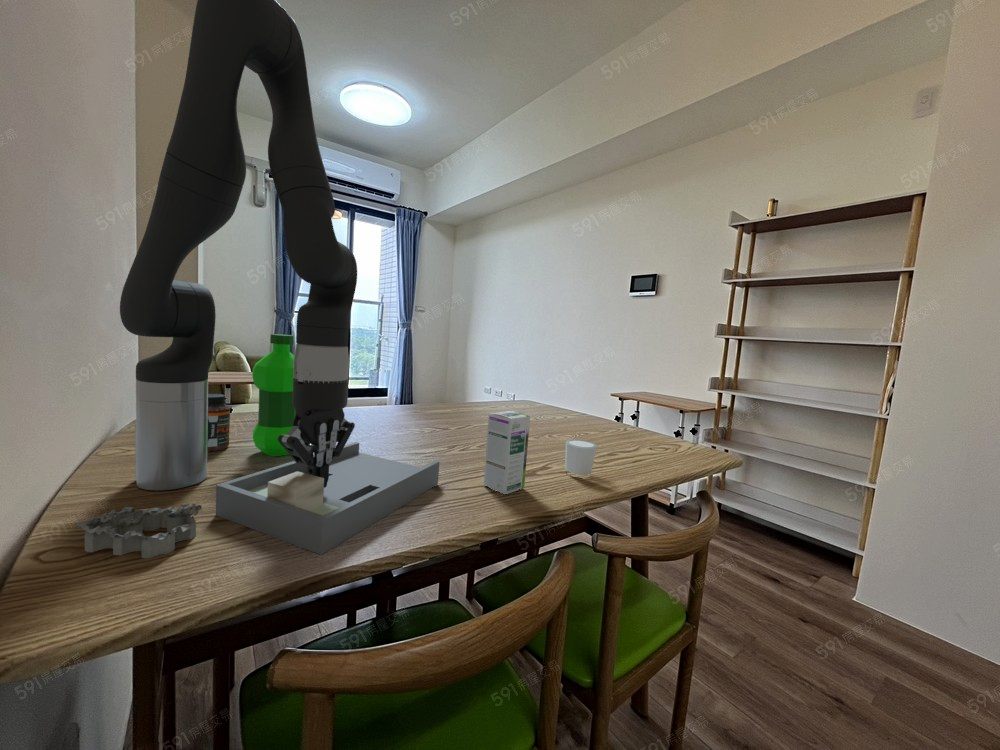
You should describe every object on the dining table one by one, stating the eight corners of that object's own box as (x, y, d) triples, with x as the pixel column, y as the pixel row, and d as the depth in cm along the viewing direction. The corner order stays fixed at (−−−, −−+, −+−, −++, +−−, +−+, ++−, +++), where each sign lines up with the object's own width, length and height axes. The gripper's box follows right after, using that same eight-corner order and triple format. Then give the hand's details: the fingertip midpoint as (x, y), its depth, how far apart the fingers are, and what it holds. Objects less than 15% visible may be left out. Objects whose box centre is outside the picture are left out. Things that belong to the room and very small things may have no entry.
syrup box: (504, 496, 74) (512, 418, 72) (482, 485, 78) (488, 411, 76) (524, 489, 78) (531, 415, 77) (502, 479, 82) (508, 409, 81)
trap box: (437, 484, 77) (439, 461, 76) (321, 554, 51) (322, 520, 50) (354, 463, 84) (355, 442, 83) (215, 514, 58) (216, 484, 58)
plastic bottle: (276, 463, 80) (280, 336, 77) (238, 453, 84) (240, 332, 81) (315, 450, 89) (320, 337, 87) (279, 442, 93) (283, 333, 90)
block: (267, 509, 56) (267, 481, 55) (296, 497, 60) (297, 471, 60) (294, 518, 54) (295, 489, 54) (323, 504, 59) (324, 478, 58)
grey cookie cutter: (206, 533, 54) (207, 503, 53) (153, 565, 46) (154, 531, 46) (132, 523, 55) (132, 493, 54) (69, 552, 47) (68, 519, 47)
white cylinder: (583, 468, 94) (586, 439, 93) (599, 479, 88) (603, 447, 87) (556, 469, 92) (560, 439, 91) (571, 480, 85) (575, 448, 85)
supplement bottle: (221, 452, 83) (222, 398, 82) (188, 451, 82) (188, 396, 81) (234, 444, 89) (235, 393, 88) (204, 443, 88) (204, 392, 87)
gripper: (335, 370, 68) (331, 470, 69) (262, 375, 55) (260, 497, 57) (371, 375, 65) (366, 479, 67) (303, 382, 53) (299, 510, 54)
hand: (317, 487), depth 62 cm, fingers closed
